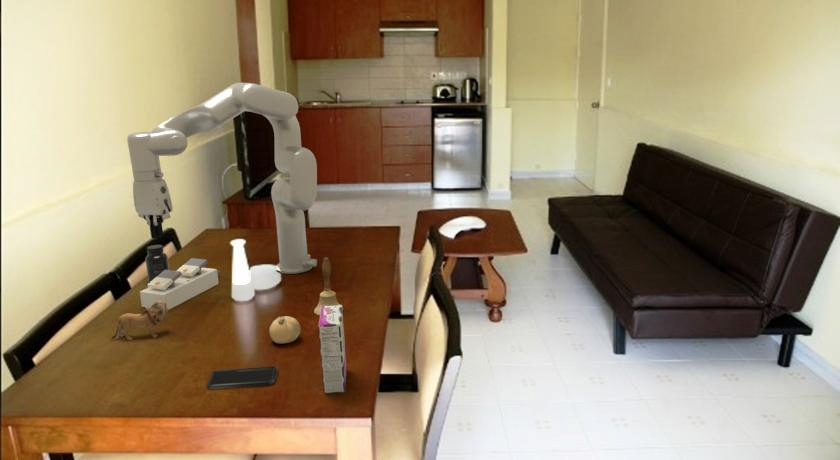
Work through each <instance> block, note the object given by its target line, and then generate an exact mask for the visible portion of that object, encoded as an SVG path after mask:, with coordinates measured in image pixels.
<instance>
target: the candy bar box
mask: <svg viewBox="0 0 840 460" xmlns="http://www.w3.org/2000/svg"><path fill="white" fill-rule="evenodd" d="M342 308H343V305H342V304H339V305H329V306H327V305H326V306H322V307H321V314H320V316H319V320H318V337H319V349H320V350H319V351H320V360H321V370H322V371H321V372H322V381H323V383H322V384H323V393H324V394H337V393H338V394H339V393H346V385H347V383H346V382H347V370H348V367H347V356H346V342H345V341H346V339H345V330H344V326H345V325H344V315H343V311H342Z"/></svg>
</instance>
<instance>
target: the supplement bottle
mask: <svg viewBox="0 0 840 460" xmlns="http://www.w3.org/2000/svg"><path fill="white" fill-rule="evenodd" d="M146 250H147V251H146V253H147V255H146V257H145V265H146V273H147V277H148V278H147V279H148V283H149V282H151V281H152V280H153V279H154V278H156V277H157V276H158V275H159V274H160V273H162V272H163V271H164V270H170V265H169V258H168V254H167V253H165V252H164V251H165V250H164V246H163V245H162V244H153V245H150V246H149V245H148V246H147V247H146Z"/></svg>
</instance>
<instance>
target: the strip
mask: <svg viewBox="0 0 840 460" xmlns="http://www.w3.org/2000/svg"><path fill="white" fill-rule="evenodd" d="M219 275H221V271H220V270H219V269H217V268H210V267H208V268H207V267H203V268H202V269H201V271H198V272H197V273H196V274H195V275H193V276H184V275H181V276H180V277H179V278H178V279H177V280H175V281H174V282H175V283H174V284H171V285H170V286H169V287H167V288H166V289H165V290H162V289H154V288H148V287H147V288H145V289H142V290H140V291H139V297H140V302H141V303H140V304H141V307H145V308H144V309H148V308H149V307H151V306H152V305H153V304H154V303H155V302H157V301H163V302H166V306H167V308H168V311H169V310H171V309H174V308H175V307H178V306H179V305H181V304H182V303H185V302H187V301H188V300H190V299H192V298H194V297H196V296H198V295H201V294H202V293H204V292H205V291H208V290H210V289H211V288H213V287H215V286H218V285H219Z"/></svg>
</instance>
